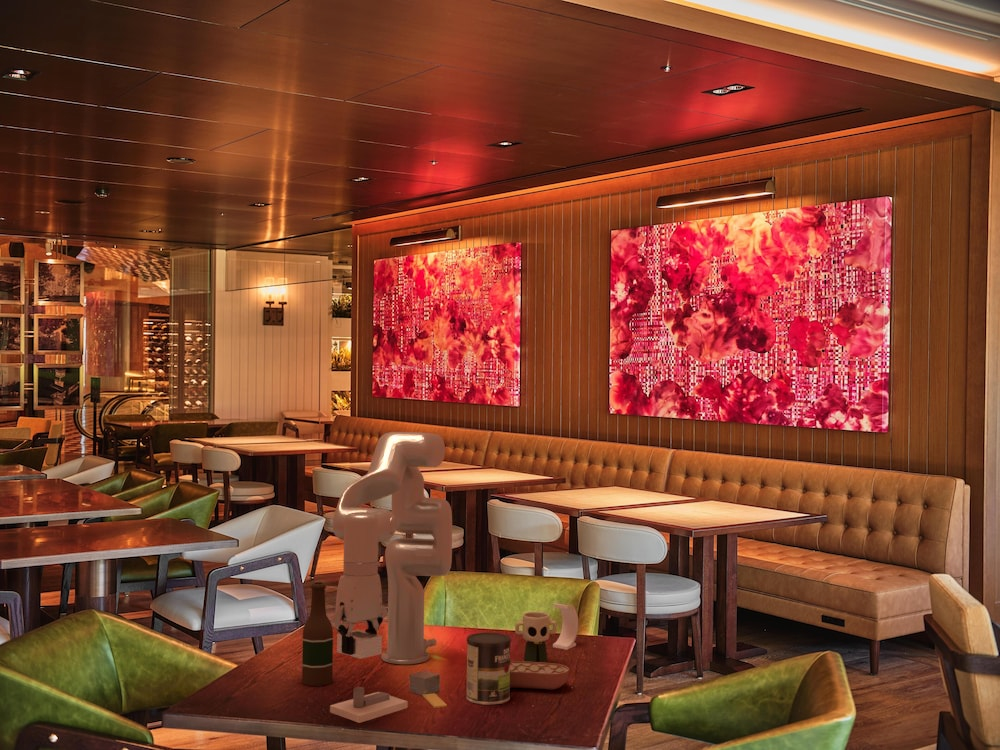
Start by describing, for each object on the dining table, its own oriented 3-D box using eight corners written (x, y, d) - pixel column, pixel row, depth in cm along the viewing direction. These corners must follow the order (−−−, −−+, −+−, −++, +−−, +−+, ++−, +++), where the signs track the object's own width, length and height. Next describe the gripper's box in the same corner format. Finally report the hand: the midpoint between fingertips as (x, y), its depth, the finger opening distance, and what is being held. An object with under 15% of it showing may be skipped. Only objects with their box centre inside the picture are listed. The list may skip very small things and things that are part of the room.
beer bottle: (326, 687, 245) (327, 587, 245) (295, 685, 247) (297, 585, 247) (338, 678, 253) (339, 580, 253) (308, 676, 254) (309, 579, 254)
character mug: (517, 669, 263) (517, 618, 263) (512, 661, 270) (513, 612, 270) (558, 667, 264) (559, 617, 264) (553, 660, 271) (553, 611, 272)
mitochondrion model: (471, 692, 244) (472, 671, 244) (475, 679, 254) (475, 659, 254) (568, 695, 242) (568, 674, 242) (568, 683, 252) (569, 662, 252)
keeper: (377, 698, 238) (378, 674, 238) (407, 707, 231) (407, 683, 231) (329, 712, 227) (330, 687, 227) (359, 722, 221) (359, 697, 221)
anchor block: (424, 687, 247) (425, 670, 247) (439, 691, 243) (439, 674, 243) (409, 691, 243) (409, 674, 243) (424, 696, 240) (424, 678, 240)
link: (358, 647, 231) (358, 629, 231) (381, 653, 226) (381, 635, 226) (337, 652, 227) (337, 633, 227) (360, 658, 222) (360, 640, 222)
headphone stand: (552, 647, 285) (553, 603, 285) (563, 642, 290) (564, 599, 290) (567, 649, 282) (567, 606, 282) (578, 645, 287) (578, 602, 287)
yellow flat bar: (422, 696, 239) (422, 694, 239) (434, 695, 241) (434, 693, 241) (434, 708, 231) (434, 706, 231) (446, 706, 232) (446, 704, 232)
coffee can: (518, 696, 240) (519, 636, 241) (494, 708, 232) (495, 645, 232) (481, 688, 246) (482, 629, 246) (457, 699, 237) (458, 638, 237)
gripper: (378, 562, 236) (377, 641, 235) (318, 571, 223) (317, 655, 223) (401, 566, 231) (399, 647, 230) (340, 576, 218) (339, 661, 218)
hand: (359, 650), depth 227 cm, fingers closed on link, 6 cm apart
